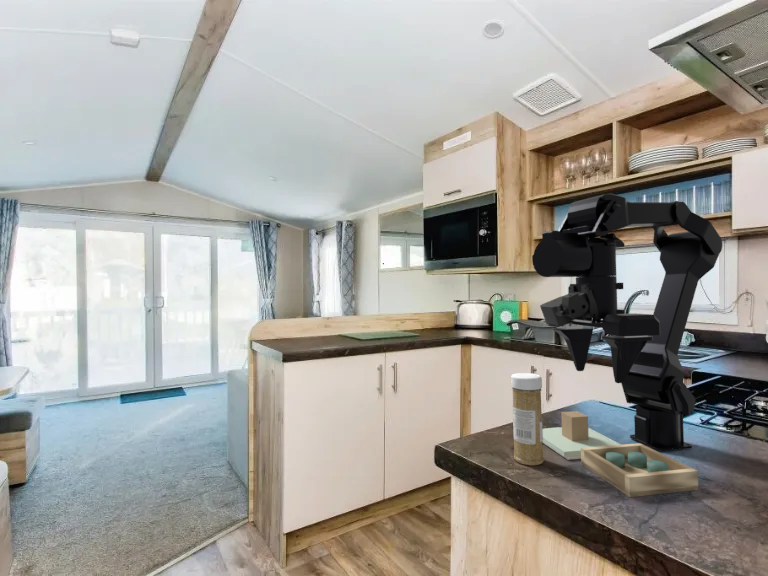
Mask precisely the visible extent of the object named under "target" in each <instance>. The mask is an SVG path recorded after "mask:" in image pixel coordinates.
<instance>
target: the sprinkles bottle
mask: <svg viewBox="0 0 768 576" xmlns="http://www.w3.org/2000/svg"><path fill="white" fill-rule="evenodd" d="M510 378H511V380H510V381H511V383H510V384H511V387H512V388H511V390H512V425H513V427H512V429H513V444H514V447H513V449H514V451H513V452H514V454H513V458H514V460H515V461H516V462H517V463H519V464H521V465H526V466H537V465H542V464H543V462H544V461H545V457H544V448H543V447H544V445H543V444H544V443H543V429H544V428H543V416H542V415H543V413H542V388H543V379H542V376H541V375H540V374H537V373H532V372H518V373H512V374H511V376H510Z"/></svg>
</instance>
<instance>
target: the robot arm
mask: <svg viewBox="0 0 768 576" xmlns="http://www.w3.org/2000/svg"><path fill="white" fill-rule="evenodd" d="M676 225H678V226H679V227H680V228H681V229H683V230H685V231H681V232H675V233H674V232H673V233H671V234H668V233H667V231H666V230H665V227H668V226H669V227H670V226H676ZM628 227H629V228H631V227H632V228H635V227H636V228H638V227H651V228H652V230H654V231H653V239H652V240H653V242H652V244H653V245H654V246H655V247H656V249H657V250H658V251H659V253H660V255H659V261H660V263H661V265H662V268H663V269H664V272H665V274H664V278H663V281H662V283H661V287H660V290H659V294H658V298H657V300H656V304H655V307H654V311H653V314H650V313H649V314H648V313H625V309H619V308H618V290H624V282H617V252H616V251H617V249H620V248H624V247H625V243H624V241H623V240H622V239H621V238H619V237H618V236H616V234H615V232H614V231H617V230H621V229H625V228H628ZM610 232H611V233H610ZM541 235H542V236H541V237H542V240H541V241H539V242H538V243H537V245H536V246H535V249H534V251H533V254H532V257H531V258H532V260H531V262H532V265H533V269H534V270H535V272H536V273H537V274H538V275H539V276H541V277H543V278H575V283H570V284H569V286H568V289H567V291H568V292H567V293H566V294H565V295H562V296H559V297H556V298H554V299H550V300H549V301H546V302H544V303H542V304H540V306H539V308H540V310H541V313H542V315H543V317H544V321H545V323H546V325H547V326H548V327H554V328H552V330H553V332H556V333H557V334H558V335H559V336H561V337H562V338H563V339H564V341H565V343H566V345H567V348H568V350H569V354H570V356H571V360H572V362H573V365H574V367H575V370H576V371H577V372H583V371H585V368H586V365H587V360H588V356H589V355H588V354H589V352H590V351H589V350H590V345H591V341H592V336H593V331H594V328H601V329H602V330H603V331H604V333H605V334H606V335H603V336H601V338H602V339H603V340H604V341H605V343H606V344H607V345H608V346H609V347H610V354H611V356H610V357H611V363H612V365H611V366H612V371H613V372H612V373H613V377H614V378H613V379H614V383H616V384H621V386H622V391H623V393H624V396H625V400H626V403H627V404H631V405H635V414H634V416H633V417H634V419H633V420H634V434H630V435H629V439H631V440H634V441H635V442H638V443H641V444H643V445H645V446H647V447H649V448H651V449H653V450H655V451H657V452H664V451H675V450H676V451H677V450H687V449H688V450H689V449H693V445H692V444H690V443H689V442H685V440H684V439H685V437H684V415H685V416H689V415H692V413H693V412H695V406H696V400H697V399H696V397H695V396H694V395H693V394H692V392H691V390H690V389H689V387H688V386H687V385H686V384H685V383H684V380H685V371H684V368H683V366H682V363H681V362H680V358H679V355H678V354H679V351H680V347H681V343H682V340H683V336H684V333H685V329H686V325H687V322H688V319H689V315H690V311H691V309H692V304H693V301H694V298H695V295H696V290H697V287H698V284H699V281H700V280H701V279H702V278H703V277H704V276H705V275H707V274H708V273H709V272H710V271H711V270H713V268H714V267H715V266H716V263H717V260H718V258H719V256H720V253H721V252H722V250H723V240H722V237H721V235H720V234H719V233H718V232H717V230H716V228H715V226H714V225H713V224H712V222H711V221H709V220H707V219H705V218H704V217H703V216H700V215H698V214H696V213H695V212H693V211H692V210H690V208H689V206H688V205H687V204H686V202H684V201H679V200H675V201H670V202H669V201H668V202H667V201H666V202H665V201H663V202H662V201H661V202H659V201H657V202H653V201H652V202H651V201H649V202H647V201H645V202H644V201H642V202H641V201H640V202H637V201H634V202H632V201H627V198H626V197H625V196H621V195H618V194H616V193H615V194H614V193H604V194H600V195H596V196H593V197H587V198H584V199H581V200H577V201H573V202H572V203H570V206H569V207H568V211H567V213H566V215H565V217H564V219H563V221H562V222H561V224H560V226H559V227H558V230H547V231H543V232H542V234H541ZM590 327H591V328H590ZM593 327H594V328H593Z"/></svg>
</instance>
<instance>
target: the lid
mask: <svg viewBox="0 0 768 576" xmlns="http://www.w3.org/2000/svg"><path fill="white" fill-rule="evenodd" d="M560 414H561V415H560V416H561V417H560V418H561V426H560V427H548V428H546V427H545V428H543V444H544V443H545V444H546V445H545V444H544V445H545V446H547V445H548V446H549V447H548V446H547V447H548V448H550V447H551V448H552V449H551V448H550V449H551V450H553V449H554V450H555V451H556V452H555V451H554V450H553V451H554V452H555V453H557V452H558V453H559V454H558V453H557V454H558V455H560V454H561V455H562V456H561V455H560V456H561V457H563V456H564V457H569V456H581V448H588V447H600V446H612V445H622V444H620V443H619V442H618V441H615V440H613V439H611V438H609V437H607V436H605V435H604V434H602V433H600V432H598V431H595V430H594V429H592V428H590V427H589V416H588V415H586V414H584V413H582V412H580V411H577V410H576V411H561V413H560ZM564 457H563V458H564Z"/></svg>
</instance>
